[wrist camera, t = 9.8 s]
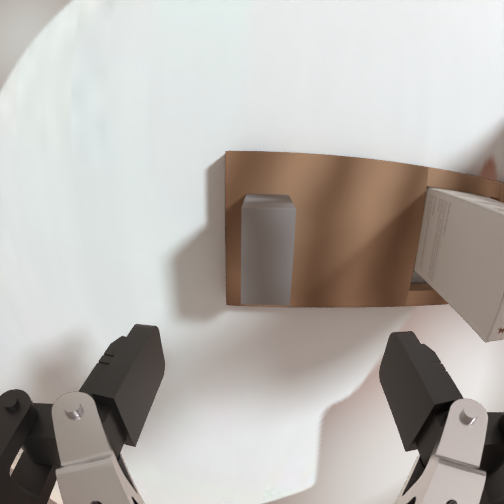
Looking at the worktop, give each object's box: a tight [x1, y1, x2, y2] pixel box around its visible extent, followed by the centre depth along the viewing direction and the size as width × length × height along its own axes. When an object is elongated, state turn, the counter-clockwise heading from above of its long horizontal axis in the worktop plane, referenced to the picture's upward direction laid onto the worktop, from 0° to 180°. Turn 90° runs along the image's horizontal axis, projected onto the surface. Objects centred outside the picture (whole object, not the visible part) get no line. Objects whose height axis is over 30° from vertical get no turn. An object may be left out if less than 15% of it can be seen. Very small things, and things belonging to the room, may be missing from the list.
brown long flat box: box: [225, 151, 504, 307], centre depth 20 cm, size 27×12×6 cm, turn 89°
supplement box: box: [414, 186, 504, 342], centre depth 17 cm, size 7×7×13 cm
